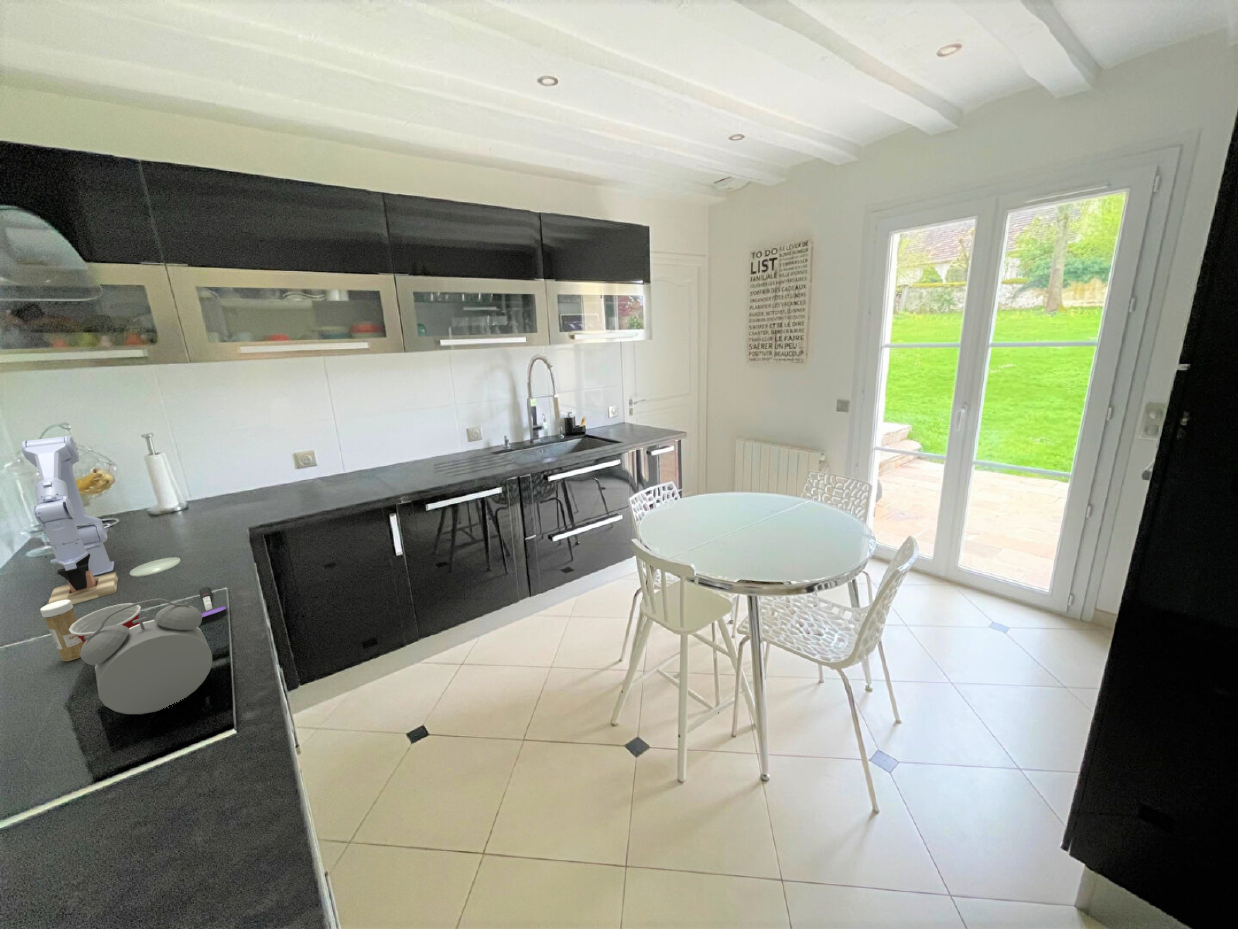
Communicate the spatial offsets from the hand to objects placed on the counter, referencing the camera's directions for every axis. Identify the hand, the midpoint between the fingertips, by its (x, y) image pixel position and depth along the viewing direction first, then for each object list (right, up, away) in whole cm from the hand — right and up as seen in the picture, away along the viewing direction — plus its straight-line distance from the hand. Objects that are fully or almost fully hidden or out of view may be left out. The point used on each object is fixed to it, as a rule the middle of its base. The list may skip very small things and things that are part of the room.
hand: (82, 584), depth 137 cm
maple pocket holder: (0, -3, +1) cm, 3 cm away
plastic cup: (+46, -10, -32) cm, 57 cm away
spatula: (+44, -4, -9) cm, 45 cm away
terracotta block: (0, -3, +1) cm, 3 cm away
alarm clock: (+68, -12, -45) cm, 83 cm away
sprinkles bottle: (+31, -9, -28) cm, 43 cm away
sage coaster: (+6, +2, +16) cm, 17 cm away
